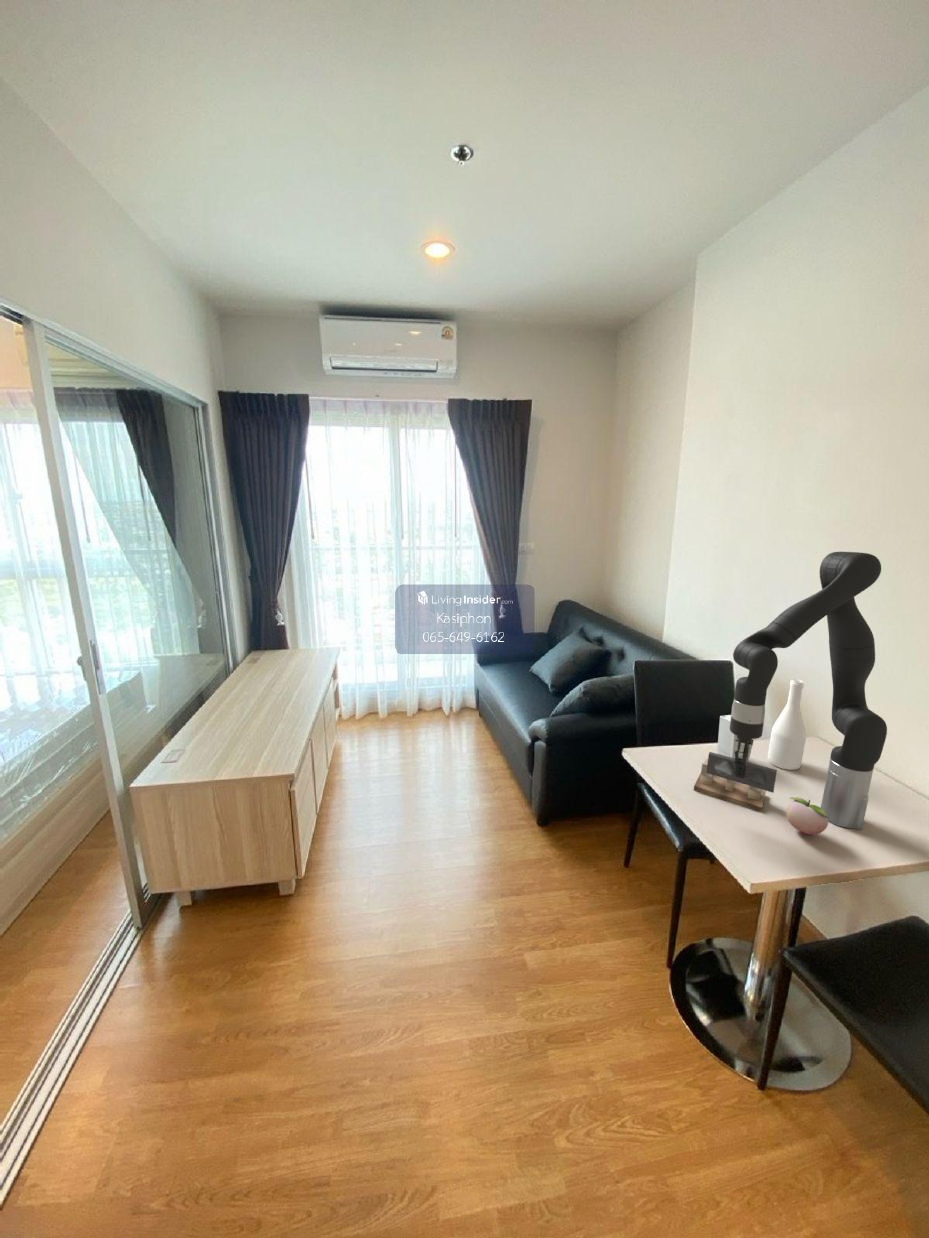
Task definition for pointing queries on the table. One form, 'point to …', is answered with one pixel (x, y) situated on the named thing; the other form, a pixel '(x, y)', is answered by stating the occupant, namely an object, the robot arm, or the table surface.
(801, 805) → the decorative fruit
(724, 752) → the skincare box
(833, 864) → the table surface
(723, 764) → the dark flat rectangular bar
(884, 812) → the table surface
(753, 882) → the table surface
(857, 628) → the robot arm
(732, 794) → the wooden peg rack
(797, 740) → the wine bottle
